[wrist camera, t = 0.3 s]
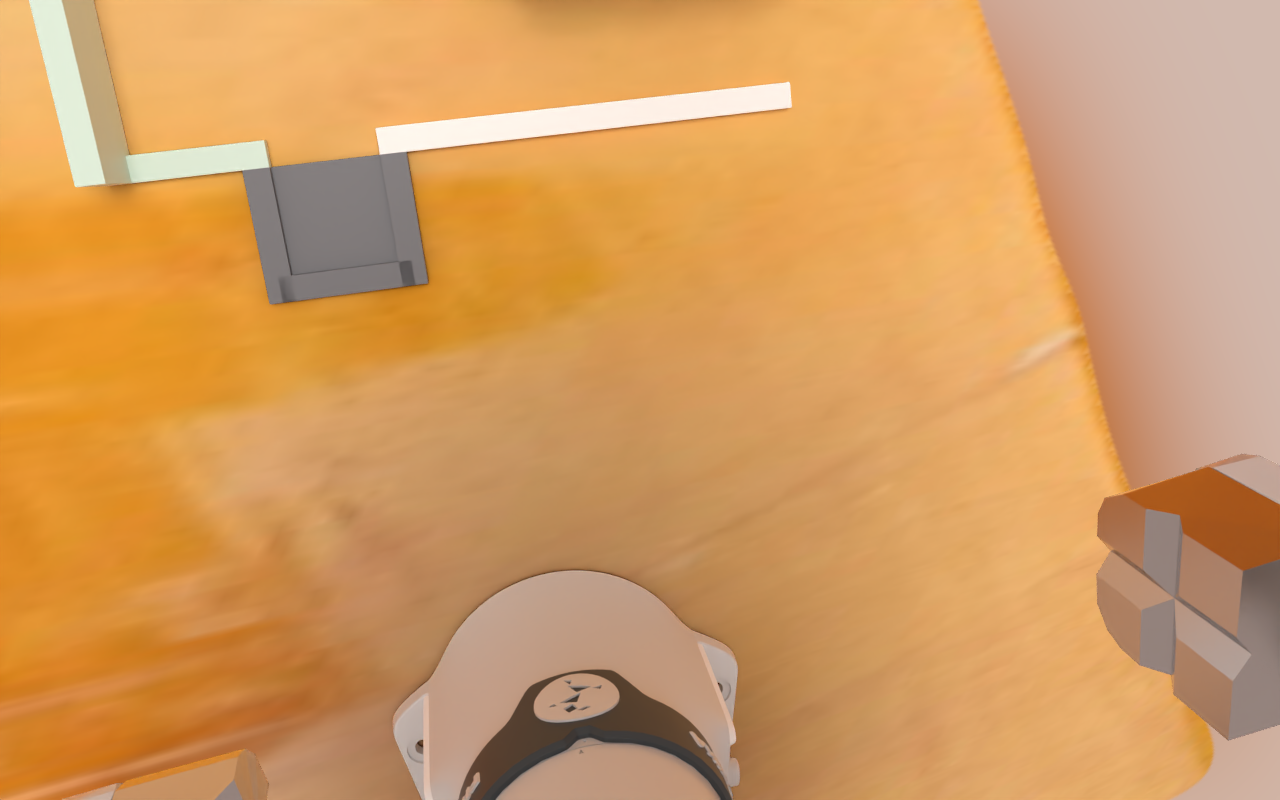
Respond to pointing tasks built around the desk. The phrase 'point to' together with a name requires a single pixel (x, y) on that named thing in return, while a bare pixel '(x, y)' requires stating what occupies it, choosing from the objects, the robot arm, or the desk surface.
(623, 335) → the desk surface
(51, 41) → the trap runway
